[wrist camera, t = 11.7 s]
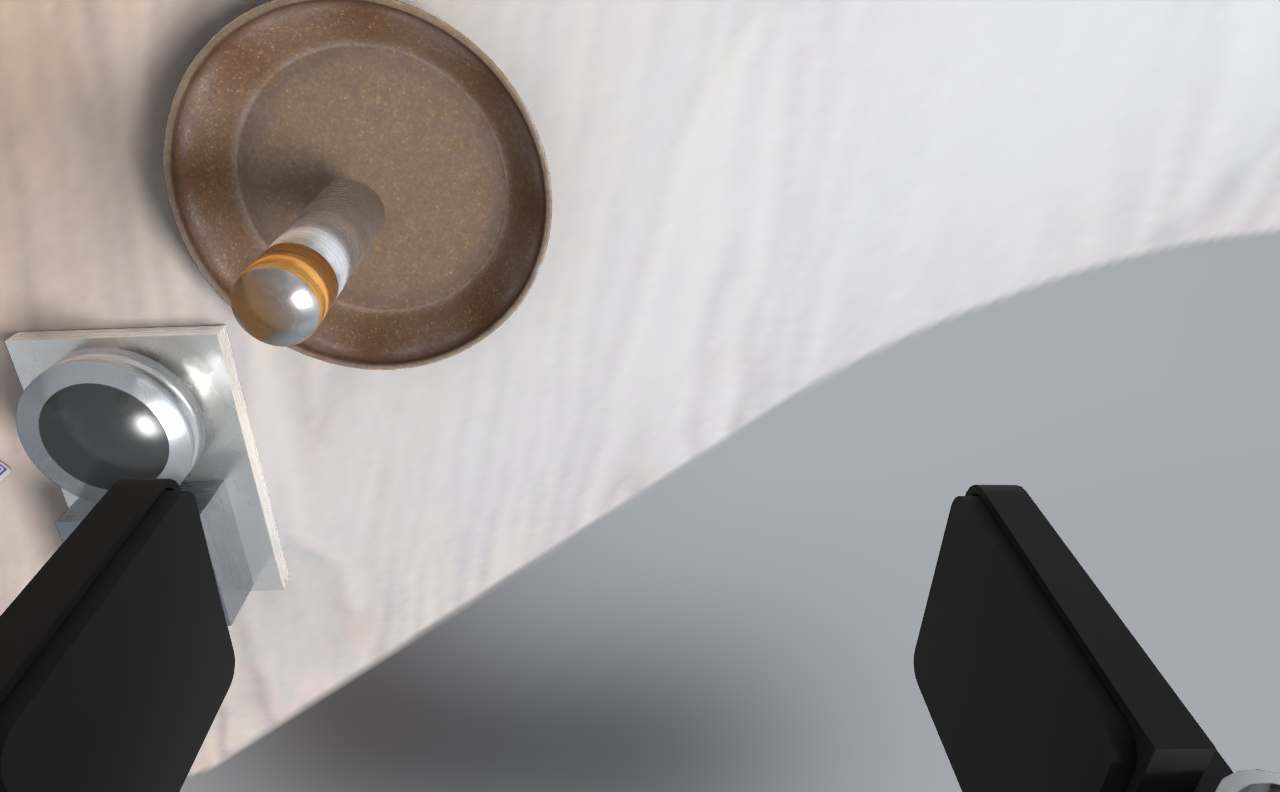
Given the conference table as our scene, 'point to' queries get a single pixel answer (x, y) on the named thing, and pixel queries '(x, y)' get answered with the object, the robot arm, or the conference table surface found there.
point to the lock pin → (308, 265)
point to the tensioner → (152, 435)
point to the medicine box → (4, 471)
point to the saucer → (364, 169)
